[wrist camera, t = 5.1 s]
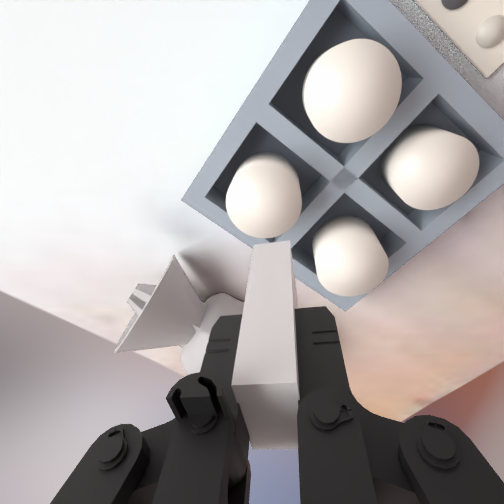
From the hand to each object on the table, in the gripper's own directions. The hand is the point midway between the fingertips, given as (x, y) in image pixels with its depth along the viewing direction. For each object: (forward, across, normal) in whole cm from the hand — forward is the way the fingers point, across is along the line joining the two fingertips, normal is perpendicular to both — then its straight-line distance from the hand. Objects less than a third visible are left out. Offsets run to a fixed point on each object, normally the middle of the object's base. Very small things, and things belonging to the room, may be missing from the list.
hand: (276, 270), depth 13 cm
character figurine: (+16, -9, -16) cm, 25 cm away
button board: (+16, +5, -1) cm, 17 cm away
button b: (+13, +5, -6) cm, 15 cm away
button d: (+13, -1, 0) cm, 13 cm away
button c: (+13, +5, +5) cm, 15 cm away
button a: (+15, +11, -1) cm, 18 cm away
